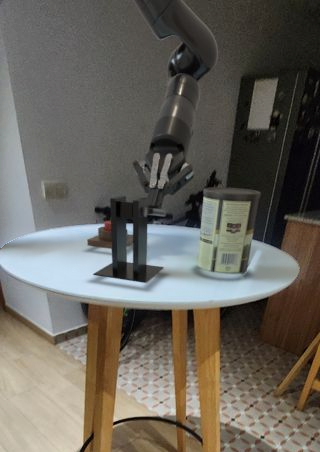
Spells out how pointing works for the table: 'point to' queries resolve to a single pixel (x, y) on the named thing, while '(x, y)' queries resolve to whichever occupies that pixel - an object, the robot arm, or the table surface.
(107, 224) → the button
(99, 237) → the block
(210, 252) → the coffee can
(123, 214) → the lever
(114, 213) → the bracket
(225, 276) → the table surface
